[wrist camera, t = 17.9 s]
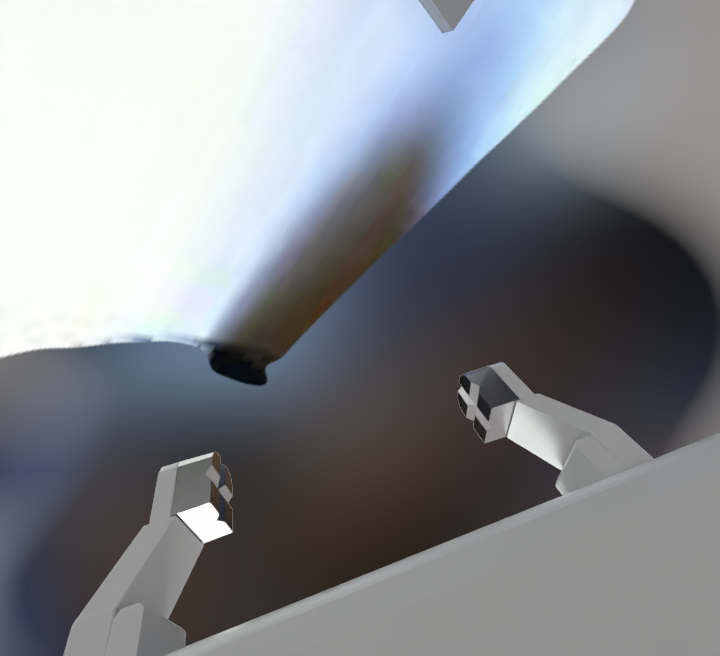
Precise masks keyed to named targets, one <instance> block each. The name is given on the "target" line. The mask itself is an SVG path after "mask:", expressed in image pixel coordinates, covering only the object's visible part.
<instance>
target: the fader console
mask: <svg viewBox="0 0 720 656" xmlns="http://www.w3.org/2000/svg"><path fill="white" fill-rule="evenodd" d="M419 1H420V3H421V4H422V5H423V7H424V8H425V9H426V11H427V12H428V14H429V15H430V16H431V18H432V19H433V21H434V22H435V23H436V25H437V26H438V28H439V29H440V30H441V32H442V33H445V32H449V31H453V30H454V29H455V27H456V26H457V24H458V23H459V21H460V20H461V18H462V17H463V15H464V14H465V13H466V11H467V10H468V8H469V7H470V5H471V4H472V2H473V1H474V0H419Z"/></svg>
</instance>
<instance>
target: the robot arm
mask: <svg viewBox="0 0 720 656" xmlns="http://www.w3.org/2000/svg"><path fill="white" fill-rule="evenodd" d="M459 383H460V385H461V386H462V387H461V389H460V390H459V391H458V402H459V406H460V407H461V410H462V412H463V413H464V415H465V416H466V417H467V418H469V419H471V420H473V421H474V425H473V428H474V429H475V431H476V432H477V433H478V435H479V436H480V438H481V439H482V441H483V442H484V443H486V442H490V441H493V440H496V439H499V438H502V437H505V436H507V437H508V438H509V439H511V440H512V441H514V442H516V443H517V444H519V445H521V446H522V447H524V448H525V449H527V450H529V451H530V452H532V453H534V454H535V455H537V456H539V457H541V458H542V459H544V460H545V461H547V462H549V463H550V464H552V465H553V466H555V467H557V468H558V469H560V470H562V471H561V473H560V475H559V478H558V479H557V482H556V488H557V489H558V490H559V491H560V493H561V494H562V495H563V496H561V497H558V498H556V499H553V500H551V501H548V502H546V503H543V504H541V505H538V506H536V507H533V508H531V509H528V510H526V511H523V512H521V513H518V514H516V515H513V516H511V517H508V518H506V519H503V520H501V521H498V522H496V523H493V524H491V525H488V526H486V527H483V528H481V529H478V530H476V531H473V532H471V533H468V534H466V535H463V536H461V537H458V538H456V539H453V540H451V541H448V542H446V543H443V544H441V545H438V546H436V547H433V548H431V549H428V550H426V551H423V552H421V553H418V554H416V555H413V556H411V557H408V558H406V559H403V560H401V561H398V562H396V563H393V564H391V565H388V566H386V567H383V568H381V569H378V570H376V571H373V572H371V573H368V574H366V575H363V576H361V577H358V578H356V579H353V580H351V581H349V582H346V583H343V584H341V585H338V586H336V587H334V588H331V589H328V590H326V591H323V592H321V593H318V594H316V595H313V596H311V597H308V598H306V599H303V600H301V601H298V602H296V603H293V604H291V605H288V606H286V607H283V608H281V609H278V610H276V611H273V612H271V613H268V614H266V615H263V616H261V617H259V618H256V619H254V620H251V621H248V622H246V623H244V624H241V625H238V626H236V627H233V628H231V629H229V630H226V631H224V632H221V633H218V634H216V635H213V636H211V637H209V638H206V639H203V640H201V641H199V642H196V643H194V644H191V645H189V646H186V647H185V639H186V632H185V631H184V630H183V629H182V628H181V627H179V626H177V625H176V624H174V623H172V622H171V621H169V620H168V618H169V616H170V614H171V612H172V610H173V608H174V606H175V604H176V602H177V600H178V598H179V595H180V593H181V591H182V589H183V587H184V585H185V583H186V581H187V579H188V577H189V575H190V573H191V571H192V568H193V566H194V564H195V562H196V560H197V558H198V556H199V554H200V552H201V550H202V547H203V543H205V542H208V541H211V540H214V539H216V538H219V537H221V536H224V535H227V534H229V533H232V532H233V510H232V508H231V507H230V505H229V504H228V502H229V501H230V499H231V497H232V496H233V495H232V494H233V493H232V482H231V476H230V473H229V471H228V469H227V467H226V466H225V465H222V464H220V459H221V458H220V456H219V455H218V453H217V452H213V453H210V454H206V455H203V456H199V457H196V458H192V459H188V460H185V461H181V462H178V463H175V464H172V465H168V466H165V467H162V468H161V470H160V472H159V474H158V479H157V484H156V490H155V496H154V501H153V507H152V512H151V517H150V523H149V524H148V525H145V526H143V528H142V529H141V531H140V532H139V534H138V535H137V536H136V537H135V539H134V540H133V542H132V543H131V544H130V546H129V547H128V549H127V550H126V551H125V553H124V554H123V556H122V557H121V558H120V560H119V561H118V562H117V564H116V565H115V567H114V568H113V569H112V571H111V572H110V574H109V575H108V576H107V578H106V579H105V580H104V582H103V583H102V585H101V586H100V588H99V589H98V590H97V592H96V593H95V594H94V596H93V597H92V598H91V600H90V601H89V603H88V604H87V606H86V607H85V608H84V610H83V611H82V613H81V614H80V615H79V616H78V618H77V619H76V621H75V622H74V623H73V625H72V628H71V631H70V634H69V638H68V642H67V645H66V648H65V652H64V655H63V656H720V433H718V434H716V435H713V436H710V437H708V438H705V439H703V440H701V441H698V442H696V443H693V444H690V445H688V446H685V447H683V448H680V449H678V450H675V451H673V452H671V453H668V454H666V455H663V456H660V457H658V458H655V459H653V458H652V457H651V456H650V455H649V454H648V453H647V452H646V451H645V450H643V449H642V448H641V447H640V446H639V445H638V444H637V443H636V442H634V441H633V440H632V439H631V438H630V437H629V436H628V435H627V434H626V433H625V432H624V431H622V430H621V429H620V428H619V427H618V426H617V425H615V424H613V423H610V422H608V421H606V420H603V419H600V418H598V417H596V416H593V415H591V414H588V413H586V412H583V411H581V410H578V409H576V408H573V407H570V406H568V405H566V404H563V403H560V402H558V401H556V400H553V399H551V398H548V397H546V396H543V395H541V394H536V395H535V394H534V393H533V392H531V390H530V389H529V388H528V387H527V386H526V385H525V384H524V383H523V382H522V381H521V380H520V379H519V378H518V377H517V376H516V375H515V374H514V373H513V372H512V371H511V370H510V369H509V368H508V367H507V366H506V365H505V364H504V363H497V364H494V365H491V366H488V367H483V368H480V369H478V370H474V371H471V372H468V373H465V374H462V375H461V376H460V378H459Z"/></svg>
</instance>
